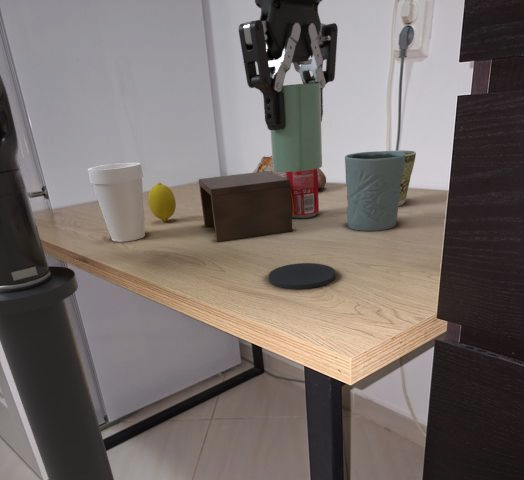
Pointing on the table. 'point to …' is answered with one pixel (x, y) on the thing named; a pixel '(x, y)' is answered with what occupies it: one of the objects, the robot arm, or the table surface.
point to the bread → (267, 165)
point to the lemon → (162, 202)
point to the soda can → (304, 193)
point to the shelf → (246, 205)
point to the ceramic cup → (406, 174)
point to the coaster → (302, 275)
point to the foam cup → (120, 199)
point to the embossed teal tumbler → (373, 189)
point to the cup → (299, 130)
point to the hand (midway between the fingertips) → (295, 126)
